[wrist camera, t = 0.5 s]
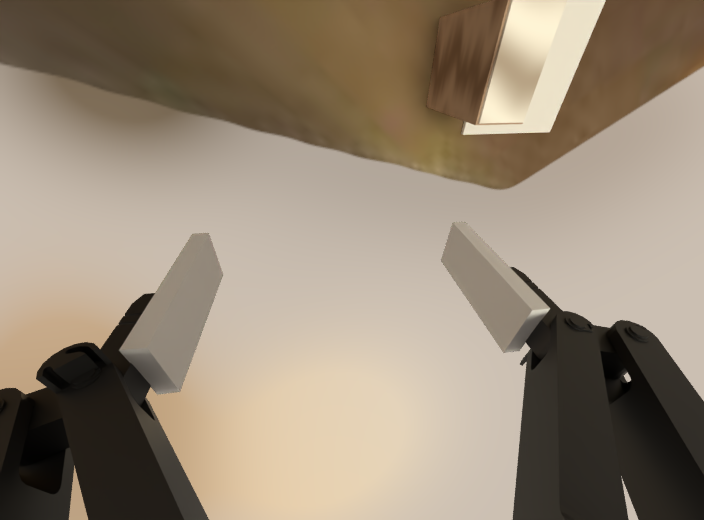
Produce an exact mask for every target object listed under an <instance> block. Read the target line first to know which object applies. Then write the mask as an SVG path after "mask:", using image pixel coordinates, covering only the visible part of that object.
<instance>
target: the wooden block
mask: <svg viewBox="0 0 704 520" xmlns="http://www.w3.org/2000/svg"><path fill="white" fill-rule="evenodd" d="M566 2H567V0H492V1H488V2H485V3H482V4H479V5H476V6H473V7H470V8H467V9H464V10H461V11H458V12H455V13H452V14H449V15H446V16H443V17H440V20H439V27H438V33H437V40H436V46H435V53H434V59H433V66H432V73H431V79H430V86H429V92H428V99H427V105H426V107H428V108H430V109H433V110H436V111H438V112H441V113H444V114H446V115H449V116H452V117H454V118H457V119H460V120H463V121H465V122H468V123H471V124H473V125H507V124H523V122H524V119H525V116H526V113H527V111H528V108H529V105H530V102H531V100H532V97H533V94H534V91H535V88H536V86H537V83H538V80H539V77H540V75H541V72H542V69H543V66H544V63H545V61H546V58H547V55H548V52H549V50H550V47H551V44H552V41H553V38H554V36H555V33H556V30H557V27H558V25H559V22H560V19H561V16H562V13H563V11H564V8H565V5H566Z"/></svg>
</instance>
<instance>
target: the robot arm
mask: <svg viewBox="0 0 704 520" xmlns="http://www.w3.org/2000/svg"><path fill="white" fill-rule="evenodd" d="M441 261H442V263H443V264H444V266H445V267H446V269H447V270H448V272H449V273H450V274H451V276H452V278H453V279H454V281H455V282H456V283H457V285H458V286H459V288H460V289H461V291H462V292H463V294H464V295H465V297H466V298H467V300H468V301H469V303H470V304H471V306H472V307H473V308H474V310H475V311H476V313H477V314H478V316H479V317H480V319H481V320H482V321H483V323H484V325H485V326H486V327H487V329H488V331H489V332H490V333H491V335H492V336H493V338H494V339H495V341H496V342H497V344H498V345H499V347H500V348H501V350H502V351H503V353H505V352H514V351H520V349H521V348H522V346H523V345H524V344H525V342H526V343H527V345H528V346H529V347H530V348H531V349H530V350H529V352H528V353H527V354H526V355H525V357H524V358H523V360H522V361H521V363H520V365H523V364H524V363H525V362H527V364H526V376H525V387H524V398H523V409H522V421H521V432H520V444H519V456H518V466H517V478H516V488H515V500H514V511H513V520H628V515H627V508H626V502H625V496H624V490H623V484H622V479H623V481H624V484H625V486H626V489H627V491H628V494H629V496H630V499H631V501H632V504H633V506H634V509H635V511H636V514H637V516H638V519H639V520H704V401H703V400H702V399H701V397H700V396H699V395H698V393H697V392H696V390H695V389H694V388H693V386H692V385H691V384H690V382H689V381H688V379H687V378H686V377H685V375H684V374H683V373H682V371H681V370H680V368H679V367H678V366H677V364H676V363H675V362H674V360H673V359H672V357H671V356H670V355H669V353H668V352H667V351H666V349H665V348H664V346H663V345H662V344H661V342H660V341H659V340H658V338H657V337H656V336H655V335H654V334H653V333H651V332H650V331H649V330H647V329H646V328H645V327H643V326H640V325H639V324H636V323H633V322H630V321H623V320H620V321H617V322H616V323H615V324H614V325H613V326H612V327H611V328H607V327H601V326H594V325H592V324H591V322H589V321H588V320H587V319H585V318H584V317H582V316H580V315H578V314H576V313H572V312H568V311H562V310H561V309H560V308H559V307H558V306H557V305H556V304H555V303H554V302H553V301H552V300H551V299H550V298H548V296H546V294H545V293H544V292H543V291H541V290H540V289H538V287H537V286H536V285H535V284H534V283H532V281H531V280H530V279H529V278H528V277H527V276H526V275H525V274H524V273H522V272H521V271H519V270H517V269H516V268H514V267H509V266H508V265H507V264H506V263H505V262H504V261H503V260H502V259H501V258H500V257H499V256H498V255H497V254H496V253H495V252H494V251H493V250H492V249H491V248H490V247H489V246H488V245H487V244H486V243H485V242H484V241H483V240H482V239H481V238H480V237H479V236H478V235H477V234H476V233H475V232H474V231H473V230H472V229H471V228H470V227H469V226H468V225H467V223H466V222H454V223H452V226H451V230H450V233H449V236H448V240H447V243H446V246H445V249H444V252H443V256H442V259H441ZM222 276H223V273H222V270H221V267H220V264H219V261H218V258H217V256H216V253H215V250H214V247H213V244H212V241H211V238H210V235H209V233H203V234H202V233H201V234H192V235H191V237H190V239H189V240H188V242H187V243H186V245H185V246H184V248H183V250H182V251H181V253H180V254H179V256H178V258H177V259H176V261H175V262H174V264H173V266H172V267H171V269H170V270H169V272H168V273H167V275H166V277H165V278H164V280H163V281H162V283H161V285H160V286H159V288H158V290H157V291H156V293H152V294H144V295H142V296H141V297H140V298H139V299H137V300H136V301H135V302H134V303H132V305H131V306H130V308H129V309H128V310H127V312H126V313H125V316H123V318H122V319H121V320H120V322H119V325H118V326H116V328H115V329H114V330H113V332H112V333H111V335H110V336H109V338H108V339H107V341H106V342H105V343H104V345H103V346H102V348H101V349H99V348H98V347H97V346H96V345H95V344H94V343H88V342H84V343H78V344H74V345H72V346H69V347H66V348H64V349H62V350H61V351H59V352H57V353H56V354H54V355H52V356H51V357H50V358H49V359H48V360H47V361H45V362H44V363H43V364H42V366H41V367H40V369H39V370H38V372H37V377H36V379H37V380H38V381H40V382H41V383H42V384H44V385H45V386H46V387H47V388H44V389H41V390H38V391H35V392H32V393H29V394H26V395H25V394H24V393H22V392H21V391H19V390H18V389H16V388H5V389H2V390H0V520H69V511H70V501H71V491H72V482H73V473H74V465H75V469H76V473H77V477H78V481H79V485H80V488H81V492H82V497H83V500H84V504H85V508H86V512H87V516H88V520H209V519H208V517H207V515H206V513H205V511H204V509H203V507H202V505H201V503H200V501H199V499H198V497H197V495H196V493H195V491H194V489H193V487H192V485H191V483H190V481H189V480H188V477H187V476H186V473H185V472H184V470H183V468H182V466H181V464H180V462H179V460H178V458H177V456H176V454H175V452H174V450H173V448H172V446H171V444H170V442H169V440H168V438H167V436H166V434H165V432H164V430H163V429H162V426H161V425H160V423H159V420H158V418H157V416H156V415H155V413H154V411H153V409H152V407H151V405H150V403H149V401H148V400H147V399H146V398H145V397H146V395H147V393H148V391H149V389H150V387H151V388H152V389H153V390H154V391H155V392H156V394H166V393H174V392H180V390H181V388H182V385H183V382H184V380H185V377H186V374H187V371H188V369H189V366H190V363H191V361H192V358H193V355H194V352H195V350H196V347H197V344H198V342H199V339H200V336H201V333H202V331H203V328H204V325H205V323H206V320H207V317H208V315H209V312H210V309H211V306H212V304H213V301H214V298H215V295H216V293H217V290H218V287H219V285H220V282H221V279H222ZM627 372H628V374H629V375H630V377H631V381H630V382H627V381H626V380H625V378H624V376H623V375H625V374H626V373H627ZM621 476H622V478H621Z"/></svg>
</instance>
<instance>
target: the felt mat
mask: <svg viewBox="0 0 704 520" xmlns="http://www.w3.org/2000/svg"><path fill="white" fill-rule="evenodd" d="M604 3H605V0H567V2H566V5H565V8H564V11H563V13H562V16H561V19H560V22H559V25H558V27H557V30H556V33H555V36H554V38H553V41H552V44H551V47H550V50H549V52H548V55H547V58H546V61H545V63H544V66H543V69H542V72H541V75H540V77H539V80H538V83H537V86H536V88H535V91H534V94H533V97H532V100H531V102H530V105H529V108H528V111H527V113H526V116H525V119H524V122H523V124H507V125H473V124H471V123H468V122H465V121H464V124H463V128H462V132H461V134H463V135H469V134H503V133H537V132H550V130H551V128H552V126H553V123H554V121H555V119H556V116H557V114H558V112H559V109H560V107H561V104H562V102H563V100H564V97H565V95H566V93H567V90H568V88H569V86H570V83H571V81H572V78H573V76H574V74H575V71H576V69H577V67H578V64H579V62H580V60H581V57H582V55H583V52H584V50H585V48H586V45H587V43H588V41H589V38H590V36H591V34H592V31H593V29H594V26H595V24H596V22H597V19H598V17H599V15H600V12H601V10H602V8H603V5H604Z"/></svg>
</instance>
